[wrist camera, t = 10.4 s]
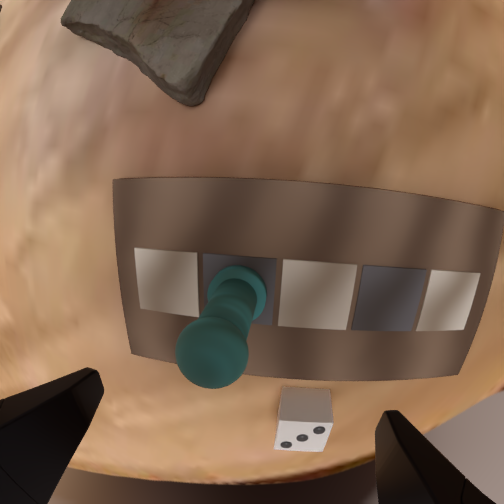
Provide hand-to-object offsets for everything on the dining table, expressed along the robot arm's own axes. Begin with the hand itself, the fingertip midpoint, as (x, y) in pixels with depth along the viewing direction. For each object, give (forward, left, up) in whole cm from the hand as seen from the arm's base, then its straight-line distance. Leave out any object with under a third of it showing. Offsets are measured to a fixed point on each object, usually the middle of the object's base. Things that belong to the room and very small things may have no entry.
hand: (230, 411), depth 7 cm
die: (-4, +12, -13) cm, 18 cm away
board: (-3, +1, -13) cm, 13 cm away
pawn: (+2, +1, -11) cm, 11 cm away
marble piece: (+8, -21, -13) cm, 26 cm away
